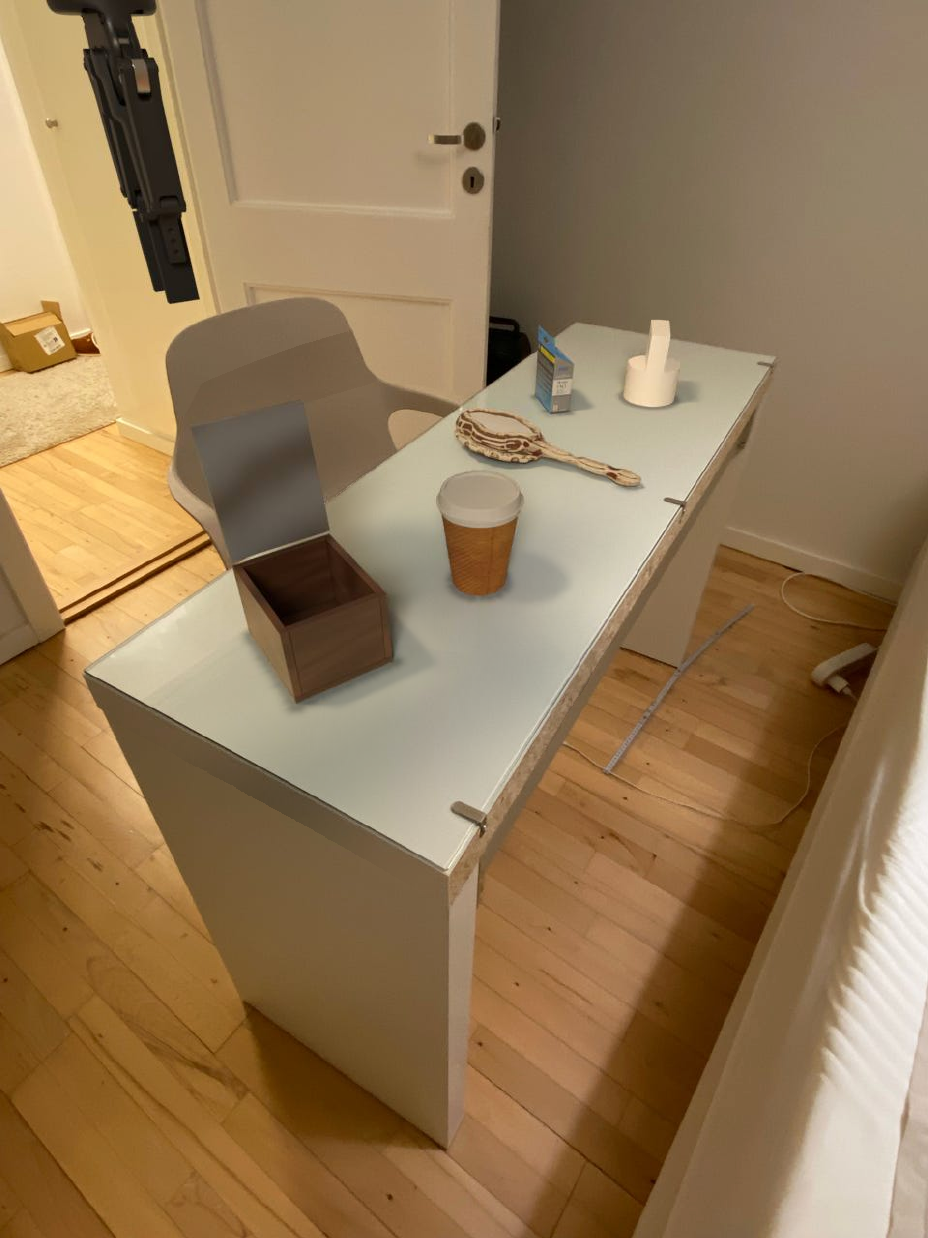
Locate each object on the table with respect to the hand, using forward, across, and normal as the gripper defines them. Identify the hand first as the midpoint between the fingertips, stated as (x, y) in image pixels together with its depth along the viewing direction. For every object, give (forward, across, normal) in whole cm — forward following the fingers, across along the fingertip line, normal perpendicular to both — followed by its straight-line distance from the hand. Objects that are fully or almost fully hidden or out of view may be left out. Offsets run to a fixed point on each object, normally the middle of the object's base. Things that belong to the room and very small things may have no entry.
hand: (176, 294), depth 63 cm
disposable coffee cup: (+31, -18, -22) cm, 42 cm away
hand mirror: (+31, 0, -47) cm, 56 cm away
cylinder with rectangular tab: (+31, +10, -79) cm, 85 cm away
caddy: (+31, -19, -1) cm, 36 cm away
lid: (+15, -12, -1) cm, 19 cm away
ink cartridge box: (+31, +18, -63) cm, 72 cm away
